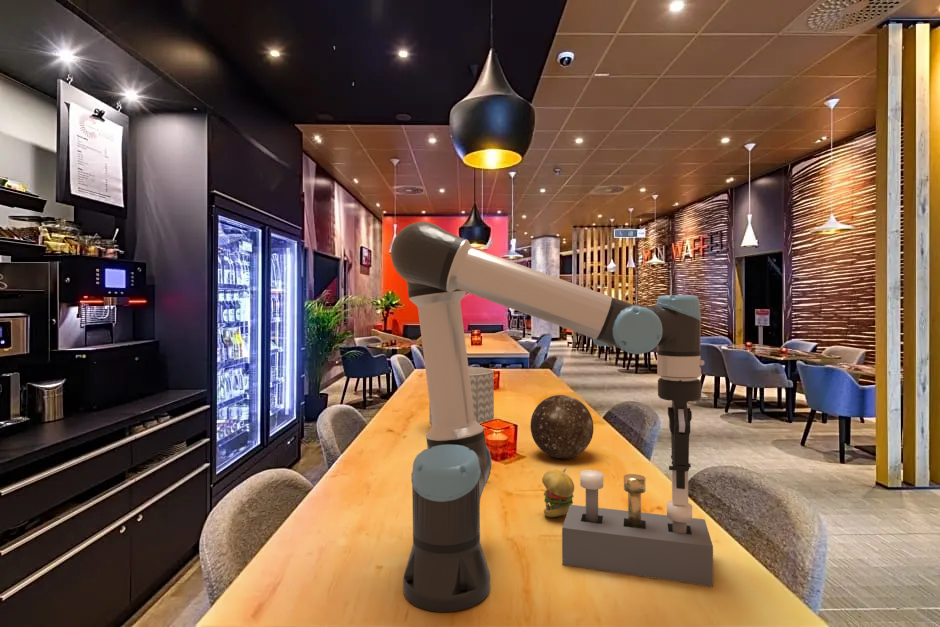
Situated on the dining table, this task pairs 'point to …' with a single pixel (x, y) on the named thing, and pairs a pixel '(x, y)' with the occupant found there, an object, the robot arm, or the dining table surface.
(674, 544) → the mount block
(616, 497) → the dining table surface
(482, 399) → the planter
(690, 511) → the knob
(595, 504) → the knob
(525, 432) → the dining table surface
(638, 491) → the amber round-headed peg
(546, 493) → the hamburger
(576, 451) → the decorative sphere
